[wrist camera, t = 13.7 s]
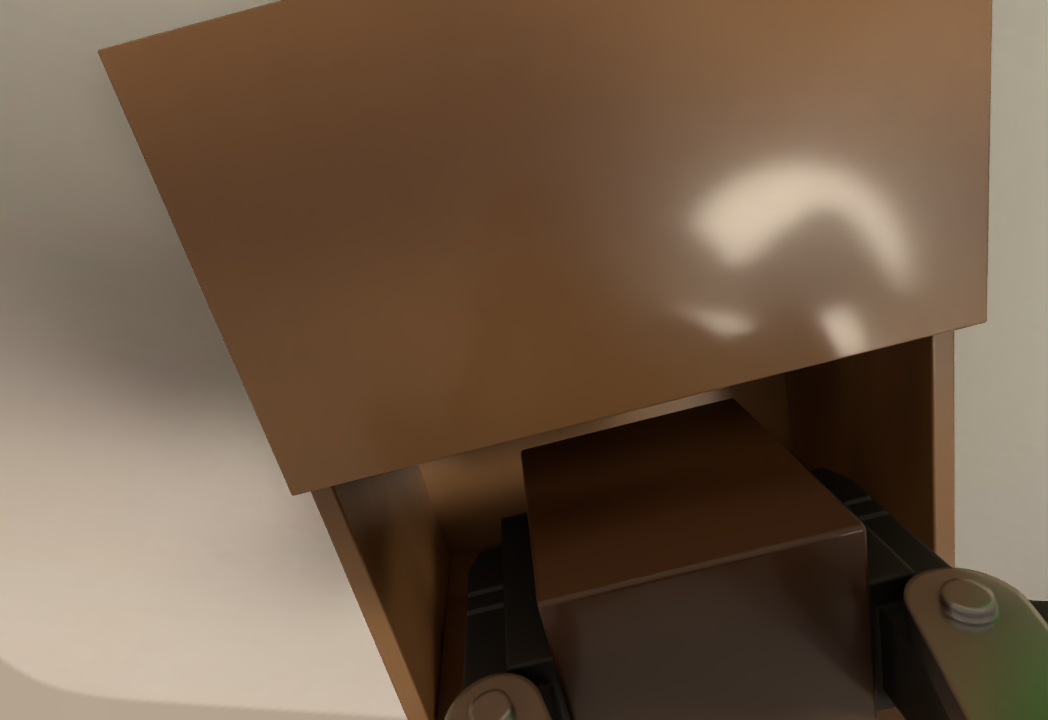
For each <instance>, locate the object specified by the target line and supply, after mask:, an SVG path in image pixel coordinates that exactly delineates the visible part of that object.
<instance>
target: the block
mask: <svg viewBox="0 0 1048 720" xmlns="http://www.w3.org/2000/svg"><path fill="white" fill-rule="evenodd" d="M521 463H522V472H523V481H524V490H525V499H526V508H527V517H528V526H529V535H530V544H531V553H532V562H533V571H534V580H535V590H536V599H537V607H538V610H539V613H540V617H541V620H542V624H543V627H544V630H545V634H546V637H547V640H548V644H549V647H550V650H551V654H552V657H553V661H554V664H555V667H556V671H557V674H558V677H559V681H560V684H561V687H562V691H563V694H564V698H565V701H566V704H567V708H568V711H569V714H570V718H571V720H878V718H877V702H876V685H875V669H874V653H873V636H872V620H871V603H870V587H869V570H868V554H867V537H866V528H865V526H864V524H863V523H862V522H861V521H860V520H859V519H858V518H857V517H856V516H855V515H854V514H853V513H852V512H851V511H850V510H849V509H847V508H846V507H845V506H844V505H843V504H842V503H841V502H840V501H839V500H838V499H837V498H836V497H835V496H834V495H833V494H832V493H831V492H830V491H829V490H828V489H827V488H826V487H825V486H824V485H823V484H822V483H821V482H820V481H819V480H818V479H817V478H816V477H814V476H813V475H812V474H811V473H810V472H809V471H808V470H807V469H806V468H805V467H804V466H803V465H802V464H801V463H800V462H799V461H798V460H797V459H796V458H795V457H794V456H793V455H792V454H791V453H790V452H789V451H788V450H787V449H786V448H785V447H784V446H782V445H781V444H780V443H779V442H778V441H777V440H776V439H775V438H774V437H773V436H772V435H771V434H770V433H769V432H768V431H767V430H766V429H765V428H764V427H763V426H762V425H761V424H760V423H759V422H758V421H757V420H756V419H755V418H754V417H753V416H752V415H750V414H749V413H748V412H747V411H746V410H745V409H744V408H743V407H742V406H741V405H740V404H739V403H738V402H737V401H736V400H735V399H733V398H729V399H725V400H721V401H717V402H713V403H709V404H705V405H701V406H697V407H693V408H689V409H685V410H681V411H677V412H673V413H669V414H665V415H661V416H657V417H653V418H649V419H645V420H641V421H637V422H633V423H629V424H625V425H621V426H617V427H613V428H609V429H605V430H601V431H597V432H593V433H589V434H585V435H580V436H576V437H572V438H568V439H564V440H560V441H556V442H552V443H548V444H544V445H540V446H536V447H532V448H528V449H524V450H522V451H521Z"/></svg>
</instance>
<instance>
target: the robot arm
mask: <svg viewBox="0 0 1048 720" xmlns="http://www.w3.org/2000/svg"><path fill="white" fill-rule="evenodd" d="M787 450H788V449H787ZM788 451H789V450H788ZM789 452H790V451H789ZM790 453H791V452H790ZM791 454H792V453H791ZM792 455H793V456H794V457H795V458H796V459H797V460H798V461H799V462H800V463H801V464H802V465H803V466H804V467H805V468H806V469H807V470H808V471H809V472H810V473H811V474H812V475H813V476H814V477H816V478H817V479H818V480H819V481H820V482H821V483H822V484H823V485H824V486H825V487H826V488H827V489H828V490H829V491H830V492H831V493H832V494H833V495H834V496H835V497H836V498H837V499H838V500H839V501H840V502H841V503H842V504H843V505H844V506H845V507H846V508H847V509H849V510H850V511H851V512H852V513H853V514H854V515H855V516H856V517H857V518H858V519H859V520H860V521H861V522H862V523H863V524H864V526H865V528H866V537H867V554H868V570H869V587H870V603H871V620H872V636H873V653H874V669H875V685H876V702H877V711H880V710H885V709H889V708H893V707H897V709H898V710H899V711H900V713H901V714H902V715H903V717H904V718H905V719H906V720H1048V601H1033V600H1028V599H1027V598H1026V597H1025V596H1024V595H1023V594H1022V593H1021V592H1019V591H1018V590H1017V589H1016V588H1014V587H1012V586H1011V585H1009V584H1008V583H1006V582H1004V581H1002V580H1000V579H998V578H996V577H993V576H990V575H988V574H985V573H981V572H978V571H974V570H969V569H963V568H953V567H951V566H950V565H948V564H947V563H946V562H945V561H944V560H943V559H942V558H940V557H939V556H938V555H937V554H936V553H935V552H934V551H932V550H931V549H930V548H929V547H928V546H927V545H926V544H925V543H923V542H922V541H921V540H920V539H919V538H918V537H917V536H915V535H914V534H913V533H912V532H911V531H910V530H909V529H907V528H906V527H905V526H904V525H903V524H902V523H901V522H899V521H898V520H897V519H896V518H895V517H894V516H893V515H892V514H890V515H889V514H888V513H887V510H886V509H885V508H884V507H882V506H881V505H880V504H879V503H878V502H877V501H876V500H872V499H871V496H870V495H869V494H868V493H866V492H865V491H864V490H863V489H862V488H861V487H860V486H859V485H857V484H856V483H855V482H854V481H853V480H852V479H850V478H848V477H845V476H843V475H840V474H838V473H836V472H833V471H831V470H829V469H826V468H824V467H822V468H818V469H814V470H809V469H808V468H807V467H806V466H805V465H804V464H803V463H802V462H801V461H800V460H799V459H798V458H797V457H796V456H795V455H794V454H792ZM501 533H502V546H499V547H495V548H491V549H487V550H483V551H480V552H479V554H478V555H477V557H476V559H475V561H474V563H473V564H472V566H471V568H470V570H469V572H468V586H467V596H468V598H467V607H466V613H467V617H466V628H465V649H464V671H463V689H462V692H461V693H460V694H459V695H458V696H457V698H456V699H455V700H454V701H453V703H452V704H451V706H450V708H449V709H448V712H447V714H446V716H445V720H571V718H570V714H569V711H568V708H567V704H566V701H565V698H564V694H563V691H562V687H561V684H560V681H559V677H558V674H557V671H556V667H555V664H554V661H553V657H552V654H551V650H550V647H549V644H548V640H547V637H546V634H545V630H544V627H543V624H542V620H541V617H540V613H539V610H538V607H537V599H536V590H535V580H534V571H533V562H532V553H531V544H530V535H529V526H528V517H527V512H523V513H519V514H515V515H511V516H507V517H503V518H501Z"/></svg>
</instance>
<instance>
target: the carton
mask: <svg viewBox="0 0 1048 720" xmlns="http://www.w3.org/2000/svg"><path fill="white" fill-rule="evenodd" d="M991 40H992V0H281V1H277V2H274V3H270V4H266V5H262V6H259V7H255V8H251V9H248V10H244V11H240V12H237V13H233V14H229V15H226V16H222V17H218V18H214V19H211V20H207V21H203V22H200V23H196V24H192V25H189V26H185V27H181V28H178V29H174V30H170V31H167V32H163V33H159V34H155V35H152V36H148V37H144V38H141V39H137V40H133V41H130V42H126V43H122V44H119V45H115V46H111V47H107V48H104V49H100V50H99V51H98V54H99V56H100V58H101V61H102V63H103V65H104V67H105V70H106V72H107V74H108V77H109V79H110V81H111V83H112V86H113V88H114V90H115V92H116V95H117V97H118V99H119V102H120V104H121V106H122V108H123V111H124V113H125V115H126V118H127V120H128V122H129V124H130V127H131V129H132V131H133V134H134V136H135V138H136V140H137V143H138V145H139V147H140V150H141V152H142V154H143V156H144V159H145V161H146V163H147V166H148V168H149V170H150V172H151V175H152V177H153V179H154V181H155V184H156V186H157V188H158V191H159V193H160V195H161V197H162V200H163V202H164V204H165V207H166V209H167V211H168V213H169V216H170V218H171V220H172V223H173V225H174V227H175V229H176V232H177V234H178V236H179V239H180V241H181V243H182V245H183V248H184V250H185V252H186V255H187V257H188V259H189V261H190V264H191V266H192V268H193V270H194V273H195V275H196V277H197V280H198V282H199V284H200V286H201V289H202V291H203V293H204V296H205V298H206V300H207V302H208V305H209V307H210V309H211V312H212V314H213V316H214V318H215V321H216V323H217V325H218V328H219V330H220V332H221V334H222V337H223V339H224V341H225V343H226V346H227V348H228V350H229V353H230V355H231V357H232V359H233V362H234V364H235V366H236V369H237V371H238V373H239V375H240V378H241V380H242V382H243V385H244V387H245V389H246V391H247V394H248V396H249V398H250V401H251V403H252V405H253V407H254V410H255V412H256V414H257V417H258V419H259V421H260V423H261V426H262V428H263V430H264V432H265V435H266V437H267V439H268V442H269V444H270V446H271V448H272V451H273V453H274V455H275V458H276V460H277V462H278V464H279V467H280V469H281V471H282V474H283V476H284V478H285V480H286V483H287V485H288V487H289V490H290V492H291V494H292V495H293V496H294V495H298V494H302V493H306V492H310V491H311V493H312V495H313V498H314V500H315V503H316V505H317V507H318V510H319V512H320V514H321V517H322V519H323V521H324V524H325V526H326V528H327V531H328V533H329V535H330V538H331V540H332V543H333V545H334V547H335V550H336V552H337V554H338V557H339V559H340V561H341V564H342V566H343V568H344V571H345V573H346V576H347V578H348V580H349V583H350V585H351V587H352V590H353V592H354V594H355V597H356V599H357V601H358V604H359V606H360V608H361V611H362V613H363V616H364V618H365V620H366V623H367V625H368V627H369V630H370V632H371V634H372V637H373V639H374V641H375V644H376V646H377V648H378V651H379V653H380V656H381V658H382V660H383V663H384V665H385V667H386V670H387V672H388V674H389V677H390V679H391V681H392V684H393V686H394V688H395V691H396V693H397V696H398V698H399V700H400V703H401V705H402V707H403V710H404V712H405V714H406V717H407V719H408V720H445V716H446V714H447V712H448V709H449V708H450V706H451V704H452V703H453V701H454V700H455V699H456V698H457V696H458V695H459V694H460V693H461V692H462V689H463V671H464V649H465V628H466V617H467V613H466V607H467V598H468V596H467V586H468V572H469V570H470V568H471V566H472V564H473V563H474V561H475V559H476V557H477V555H478V554H479V552H480V551H483V550H487V549H491V548H495V547H499V546H502V533H501V518H503V517H507V516H511V515H515V514H519V513H523V512H527V508H526V499H525V490H524V481H523V472H522V463H521V451H522V450H524V449H528V448H532V447H536V446H540V445H544V444H548V443H552V442H556V441H560V440H564V439H568V438H572V437H576V436H580V435H585V434H589V433H593V432H597V431H601V430H605V429H609V428H613V427H617V426H621V425H625V424H629V423H633V422H637V421H641V420H645V419H649V418H653V417H657V416H661V415H665V414H669V413H673V412H677V411H681V410H685V409H689V408H693V407H697V406H701V405H705V404H709V403H713V402H717V401H721V400H725V399H729V398H733V399H735V400H736V401H737V402H738V403H739V404H740V405H741V406H742V407H743V408H744V409H745V410H746V411H747V412H748V413H749V414H750V415H752V416H753V417H754V418H755V419H756V420H757V421H758V422H759V423H760V424H761V425H762V426H763V427H764V428H765V429H766V430H767V431H768V432H769V433H770V434H771V435H772V436H773V437H774V438H775V439H776V440H777V441H778V442H779V443H780V444H781V445H782V446H784V447H785V448H786V449H788V450H789V451H790V452H791V453H792V454H794V455H795V456H796V457H797V458H798V459H799V460H800V461H801V462H802V463H803V464H804V465H805V466H806V467H807V468H808V469H809V470H814V469H818V468H822V467H824V468H826V469H829V470H831V471H833V472H836V473H838V474H840V475H843V476H845V477H848V478H850V479H852V480H853V481H854V482H855V483H856V484H857V485H859V486H860V487H861V488H862V489H863V490H864V491H865V492H866V493H868V494H869V495H870V496H871V499H872V500H876V501H877V502H878V503H879V504H880V505H881V506H882V507H884V508H885V509H886V510H887V513H888V514H889V515H890V514H892V515H893V516H894V517H895V518H896V519H897V520H898V521H899V522H901V523H902V524H903V525H904V526H905V527H906V528H907V529H909V530H910V531H911V532H912V533H913V534H914V535H915V536H917V537H918V538H919V539H920V540H921V541H922V542H923V543H925V544H926V545H927V546H928V547H929V548H930V549H931V550H932V551H934V552H935V553H936V554H937V555H938V556H939V557H940V558H942V559H943V560H944V561H945V562H946V563H947V564H948V565H950V566H951V567H953V568H955V509H954V330H957V329H961V328H965V327H969V326H973V325H977V324H981V323H985V322H986V321H987V274H988V216H989V157H990V98H991Z"/></svg>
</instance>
